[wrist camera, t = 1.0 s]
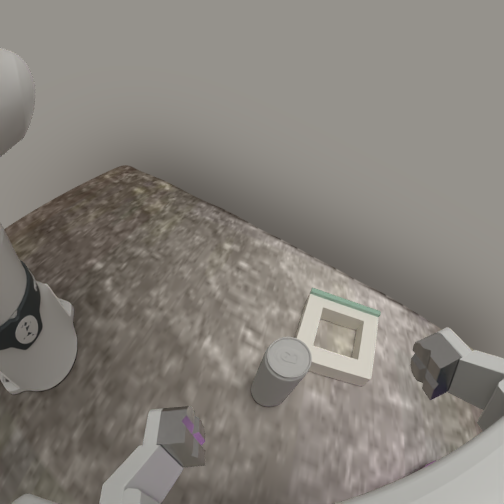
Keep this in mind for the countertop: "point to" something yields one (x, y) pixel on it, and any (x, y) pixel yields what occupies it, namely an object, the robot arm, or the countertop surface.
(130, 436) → the countertop surface
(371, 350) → the socket block
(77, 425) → the countertop surface
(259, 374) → the beverage can
